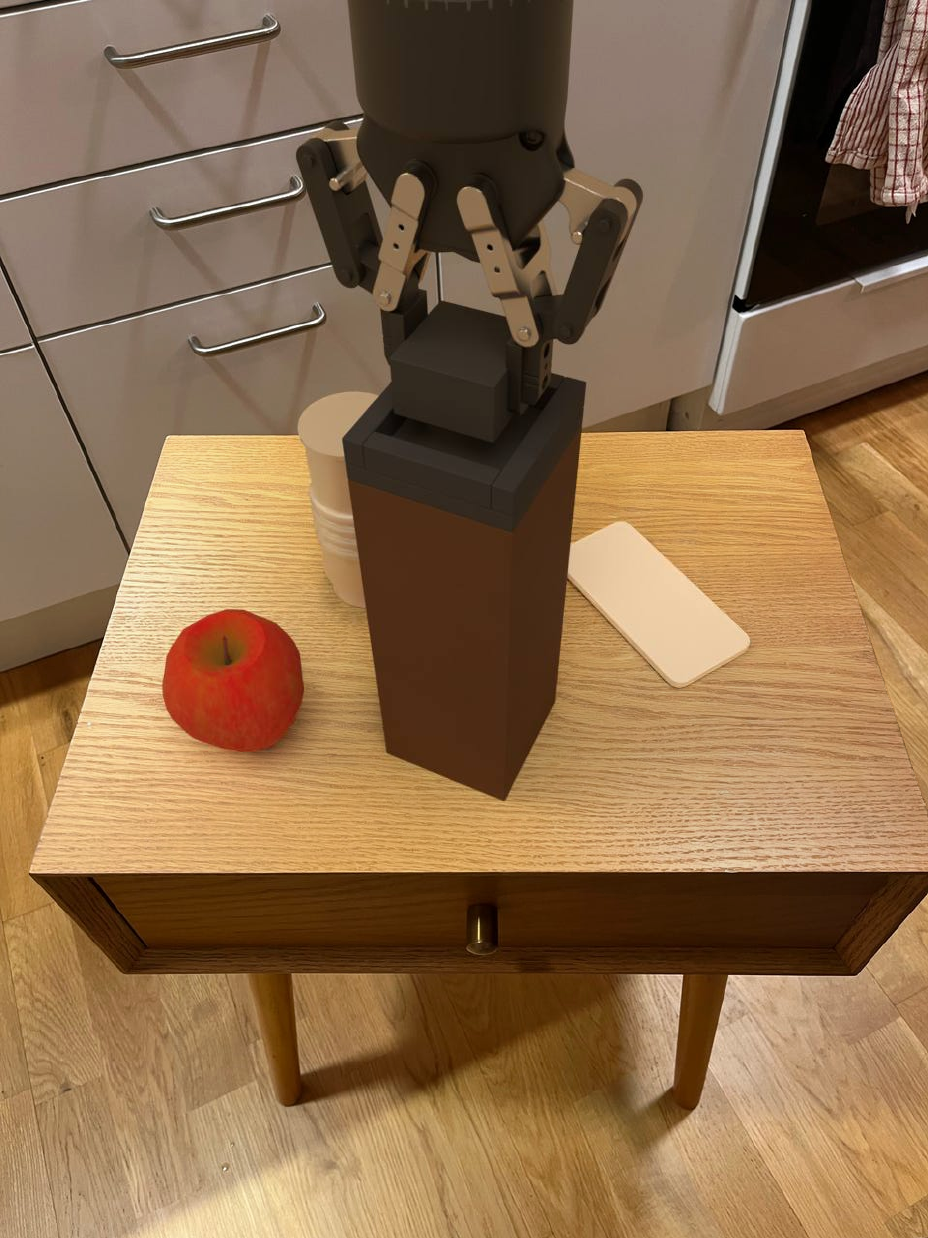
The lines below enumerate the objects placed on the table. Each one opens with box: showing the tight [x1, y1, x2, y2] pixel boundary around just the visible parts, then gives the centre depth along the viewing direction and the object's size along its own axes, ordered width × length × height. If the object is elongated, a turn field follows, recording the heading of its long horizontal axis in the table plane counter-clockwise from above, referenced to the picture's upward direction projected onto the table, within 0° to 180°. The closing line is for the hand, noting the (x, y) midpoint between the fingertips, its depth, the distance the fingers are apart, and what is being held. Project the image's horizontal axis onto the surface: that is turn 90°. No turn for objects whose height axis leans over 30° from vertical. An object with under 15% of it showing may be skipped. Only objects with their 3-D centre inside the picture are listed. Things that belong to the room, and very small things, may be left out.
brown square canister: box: [342, 372, 587, 802], centre depth 55 cm, size 9×9×26 cm
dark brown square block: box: [389, 300, 515, 443], centre depth 43 cm, size 5×5×3 cm
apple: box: [161, 608, 305, 753], centre depth 61 cm, size 9×8×11 cm
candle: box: [297, 391, 379, 609], centre depth 68 cm, size 7×7×15 cm
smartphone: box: [567, 520, 751, 689], centre depth 72 cm, size 7×1×15 cm
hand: (467, 386), depth 44 cm, fingers closed on dark brown square block, 5 cm apart
